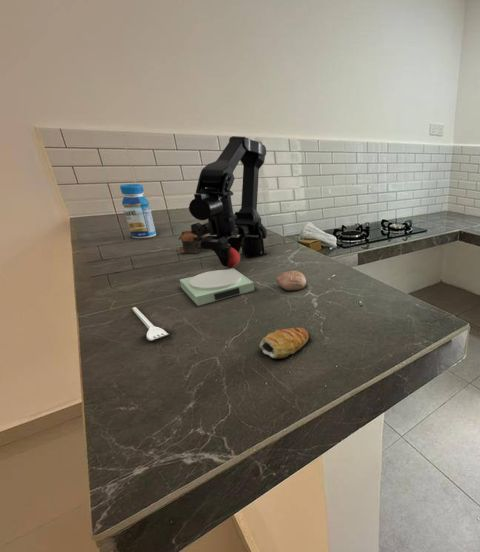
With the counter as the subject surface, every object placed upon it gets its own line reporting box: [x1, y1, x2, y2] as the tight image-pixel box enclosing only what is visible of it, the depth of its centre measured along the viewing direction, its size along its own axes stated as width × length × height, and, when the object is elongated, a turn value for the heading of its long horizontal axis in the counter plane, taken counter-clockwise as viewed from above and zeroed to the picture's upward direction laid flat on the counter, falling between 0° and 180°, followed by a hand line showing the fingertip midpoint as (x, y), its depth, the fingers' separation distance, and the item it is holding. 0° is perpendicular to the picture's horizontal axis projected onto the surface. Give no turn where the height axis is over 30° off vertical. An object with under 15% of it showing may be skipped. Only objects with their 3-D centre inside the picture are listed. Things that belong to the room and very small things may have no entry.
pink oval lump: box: [275, 269, 307, 292], centre depth 92 cm, size 8×6×8 cm
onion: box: [218, 244, 241, 269], centre depth 100 cm, size 6×6×8 cm
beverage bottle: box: [119, 183, 157, 239], centre depth 126 cm, size 8×8×20 cm
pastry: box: [259, 327, 310, 359], centre depth 65 cm, size 9×7×4 cm
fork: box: [131, 306, 170, 341], centre depth 70 cm, size 3×20×2 cm, turn 50°
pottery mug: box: [178, 230, 207, 254], centre depth 117 cm, size 12×10×8 cm
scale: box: [179, 267, 255, 306], centre depth 88 cm, size 14×14×3 cm
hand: (230, 262), depth 101 cm, fingers closed on onion, 6 cm apart
